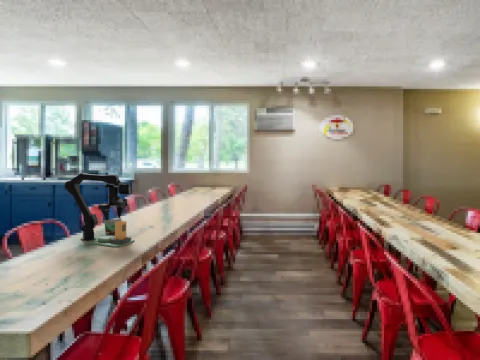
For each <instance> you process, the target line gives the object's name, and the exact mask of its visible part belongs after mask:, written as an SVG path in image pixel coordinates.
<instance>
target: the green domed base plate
mask: <svg viewBox="0 0 480 360" xmlns="http://www.w3.org/2000/svg"><path fill="white" fill-rule="evenodd" d="M134 242H135V239H132V237H131V236H126V239H123V240H118V239H115V235H105V236H104V235H103V236H100V237H98V238H97V240H96V239H95V240H94V241H93V240H92V241H90V243H89V244H90V245H95V246H102V247H103V246H104V247H110V248H120V247H121V248H122V247H123V246H126V245H129V244H132V243H134Z"/></svg>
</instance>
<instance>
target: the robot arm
mask: <svg viewBox="0 0 480 360" xmlns="http://www.w3.org/2000/svg"><path fill="white" fill-rule="evenodd" d="M83 181H96V182H103V183H105V184H106V185H105V186H104V188H107V191H108V193H107V194H108V195H107V196H106V198H108V202H106V204H105V203H103V204H98V206H97V209H98V210H99V211H101V212H102V214H103V216H104V217H105V220H109V216H110V211H111V209H110V208H116V213H117V219H119V218H121V216H122V213H123V211H124V209H125V208H127V207H128V206H129V205H128V199H127V198H121V197H120V195H122V196H123V195H125V196H126V195H131V192H132V187H131V184H130V183H123V182H122V181H121V180H120V177H119V176H118V175H117V174H103V175H102V174H93V173H92V174H91V173H86V172H81V173H79V174H78V175H76V176H75V177H73V178H72V179H70V180H67V181H65V183H64V185H63V186H64V188H65V190H66V191H67V192H68V193H69V194H70V195H71V196H72V198H73V200H74V201H75V203H76V204H77V207H78V208H79V211H80V213H81V214H82V217H83V223H84V225H82V226H81V228H80V230H81V231H82V238H80V240H81V241H86V242H89V241H90V242H91V241H93V240H96V239H97V238H96V237H95V228H96V226H97V225H98V223H99V218H98V217H97V214H96V213H92V212H91V210H90V209H89V207H88V205H87V203H86V200H84V197H83V196H82V194H81V188H80V184H82V183H83Z"/></svg>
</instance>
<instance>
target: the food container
mask: <svg viewBox="0 0 480 360" xmlns="http://www.w3.org/2000/svg"><path fill="white" fill-rule="evenodd" d="M117 221H122V217H120V218H116V219H115V218H114V219H110V220H106V219H104V220H103V224H104V231H105V232H104V233H105V235H106V236H115V222H117Z"/></svg>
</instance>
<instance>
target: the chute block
mask: <svg viewBox="0 0 480 360" xmlns="http://www.w3.org/2000/svg"><path fill="white" fill-rule="evenodd" d="M114 236H115V239H118V240H123V239H126V237H127V221H125V220H121V221H117V222H115V234H114Z"/></svg>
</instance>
